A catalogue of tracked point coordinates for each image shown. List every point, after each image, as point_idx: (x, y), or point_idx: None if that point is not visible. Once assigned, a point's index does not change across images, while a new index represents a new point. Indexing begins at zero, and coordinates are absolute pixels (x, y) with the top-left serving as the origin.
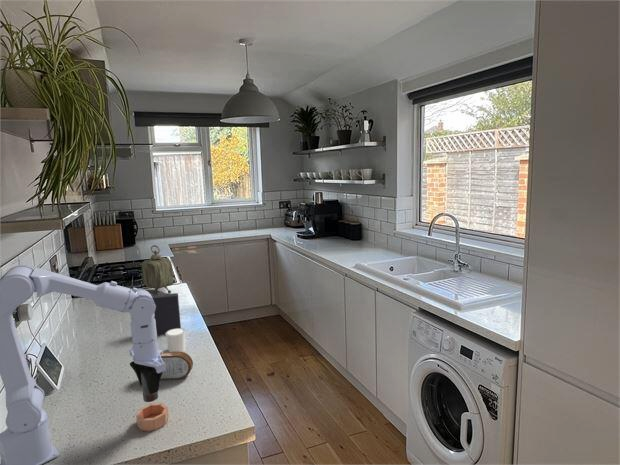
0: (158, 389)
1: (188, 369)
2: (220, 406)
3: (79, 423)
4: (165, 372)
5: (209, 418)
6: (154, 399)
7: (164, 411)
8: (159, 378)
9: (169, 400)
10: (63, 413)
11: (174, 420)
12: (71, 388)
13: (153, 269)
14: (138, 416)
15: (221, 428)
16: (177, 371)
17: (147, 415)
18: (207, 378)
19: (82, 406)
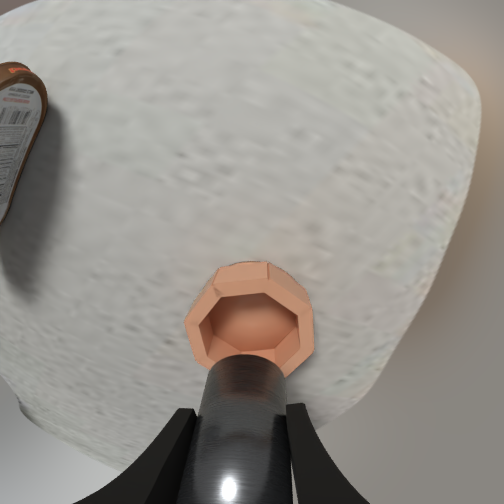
0: (305, 408)
1: (33, 85)
2: (345, 61)
3: (129, 422)
4: (1, 175)
5: (390, 137)
6: (284, 382)
7: (291, 302)
8: (338, 475)
9: (143, 207)
10: (79, 418)
11: (302, 248)
12: (3, 368)
13: None
14: None
15: (458, 146)
16: (17, 130)
17: (209, 322)
18: (106, 29)
19: (64, 391)
